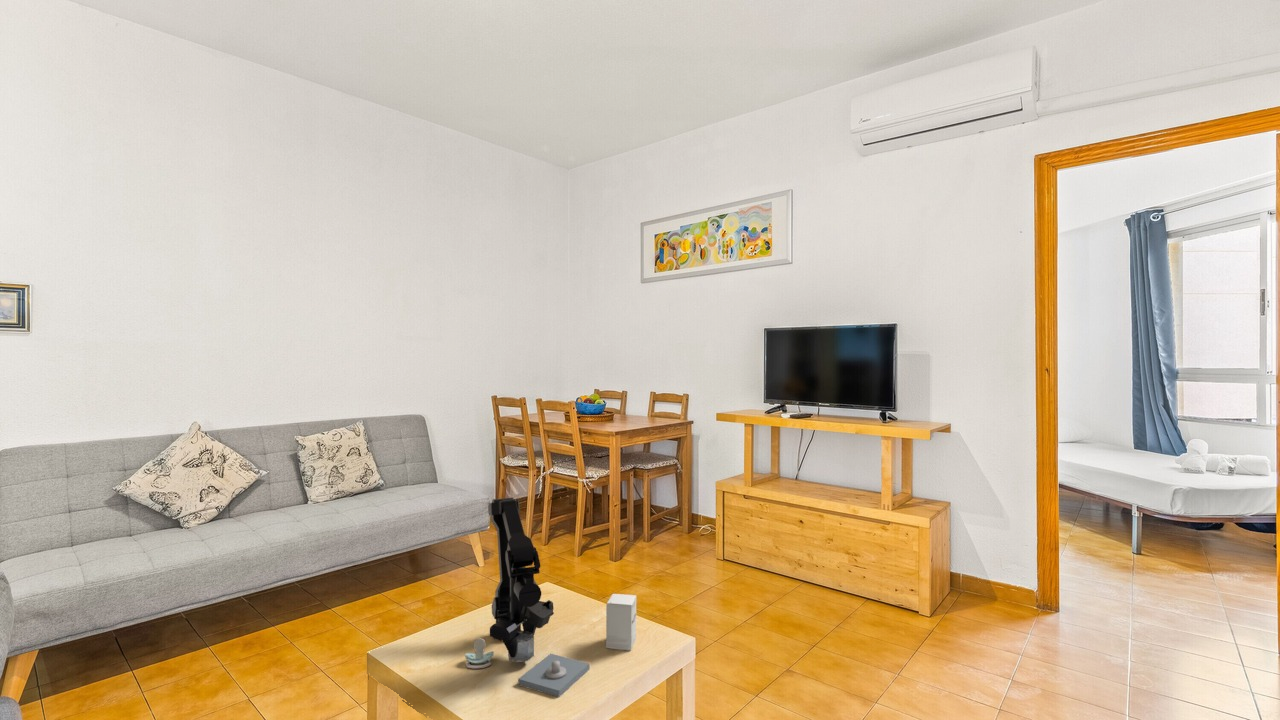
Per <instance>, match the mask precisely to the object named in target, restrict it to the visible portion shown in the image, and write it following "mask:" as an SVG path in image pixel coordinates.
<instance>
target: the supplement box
mask: <svg viewBox="0 0 1280 720" xmlns="http://www.w3.org/2000/svg"><path fill="white" fill-rule="evenodd" d="M605 609H606V616H605V617H606V621H605V622H606V627H605V628H606V629H605V631H606V637H605V639H606V640H605V641H606V643H605V647H606V649H612V650H621V651H622V650H623V651H632V649H633V647H634V644H635V641H636V640H637V595H636V594H622V593H612V594H611V596H610V597H609V599H608V600H607V602H606V608H605Z"/></svg>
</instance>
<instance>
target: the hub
mask: <svg viewBox="0 0 1280 720" xmlns="http://www.w3.org/2000/svg"><path fill="white" fill-rule="evenodd" d="M517 633H521V635H520V636H519V637H518V638H517V642H516V654H515V657H514V658H512V657H511V656H510V654H509V652H508V651H507V656H508V660H509V661H511V662H515V663H520V662H527V661H529V660H531V659H533V658H534V657H535V635H534V636H533V633H532V632H528V631H523V630H522V631H518V632H517Z"/></svg>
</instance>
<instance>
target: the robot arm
mask: <svg viewBox="0 0 1280 720" xmlns="http://www.w3.org/2000/svg"><path fill="white" fill-rule="evenodd" d="M487 509H488V510H487V512H488V516H490V522H491V523H492V524H493V526H494V527H495V529H496V534H497V535H496V536H497V549H498V550H497V552H498V565H499V566H498V568H499V583H498V585H497V586H496V588H495V590H494V591H495V592H494V593H495V594H494V595H495V597H493V599H492V603H491V614H492V617H493V619H494V620H495V623H494V624H492V625H491V626H490V627H489V637H491V638H493V639H497V640H501V641H502V642H503V644H504V647H505V648H506V650H507V653H508V652H509V654H510V656H511V657H512V658H514V657H515V654H516V642H517V638H518V637H519V636H520V635H521V633H517V632H518V631H528V632H532V633H533V636H534V637H535V634H536V630H537V629H542V628H543V627H544V626H545V625H548V624H549V621H550V618H551V617H552V616H553V615H554V614H555V613H554V603H553V601H552V600H550V599H549V600H547V601H541V598H542V589H541V587H540V586H539V584H538V583H537V582H536V581H535V575H537V574H540V568H541V562H540V557H539V552H538V550H537V547H535V546H534V544H533V542H532V538H530V537H528V535H526V533H525V531H524V528H523V523H522V519H521V515H520V510H521V509H520V499H518V500H517V499H515V498H514V497H504V498H496V499H495V498H493V499H492V500H491V502H489V503H488V505H487ZM521 626H522V627H521ZM522 629H523V630H522Z"/></svg>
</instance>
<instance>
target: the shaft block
mask: <svg viewBox="0 0 1280 720" xmlns="http://www.w3.org/2000/svg"><path fill="white" fill-rule="evenodd" d="M589 670H590V662H585V661H582V660H576V659H573V658H570V657H565V656H563V655H558V654H554V653H550V654H548V655H547V656H546V657H544V658H543V659H542V660H540V661H539V662H538V663H536V664H535V665H534V666H533V667H531V668H530V669H529V670H528V671H526V672H525V673H524V674H522V675H521V676H520V677H519V678H517V681H518V682H517V685H518V686H521V687H525V688H527V689H531V690H534V691H538V692H541V693H545V694H547V695H551V696H555V697H559V698H560V697H561V696H562V695H563V694H564V693H566V691H567V690H569V689H570V687H571V688H572V686H573V685H574V684H575V683H576V682H577V681H579V679H580V678H582V677H583V676H584V675H585V674H586V673H587V672H588V671H589Z"/></svg>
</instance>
